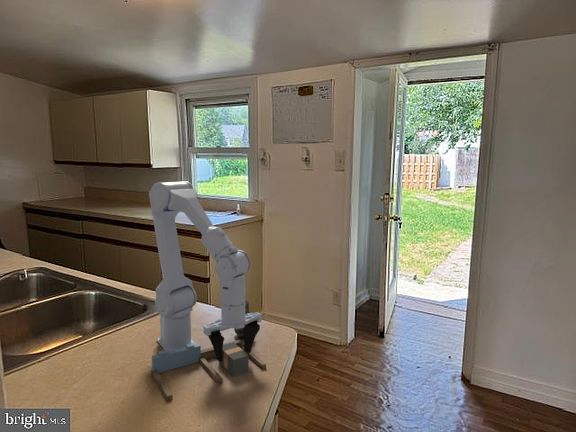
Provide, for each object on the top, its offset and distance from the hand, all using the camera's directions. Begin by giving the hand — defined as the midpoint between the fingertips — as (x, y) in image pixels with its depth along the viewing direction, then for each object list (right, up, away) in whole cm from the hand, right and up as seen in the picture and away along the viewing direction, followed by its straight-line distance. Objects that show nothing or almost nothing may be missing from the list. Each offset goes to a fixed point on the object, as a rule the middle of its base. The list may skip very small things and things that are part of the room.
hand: (233, 355), depth 95 cm
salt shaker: (+1, -1, +15) cm, 15 cm away
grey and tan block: (0, -3, 0) cm, 3 cm away
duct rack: (-6, -3, -2) cm, 7 cm away
